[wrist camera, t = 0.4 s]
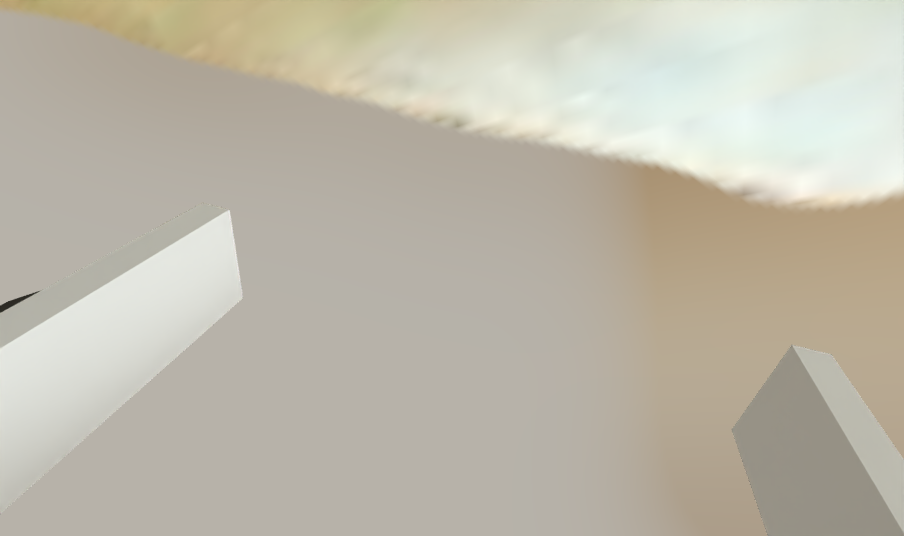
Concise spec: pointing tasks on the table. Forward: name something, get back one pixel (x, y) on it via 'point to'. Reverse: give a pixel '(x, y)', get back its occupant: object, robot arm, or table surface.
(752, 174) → the table surface
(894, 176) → the table surface
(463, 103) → the table surface
